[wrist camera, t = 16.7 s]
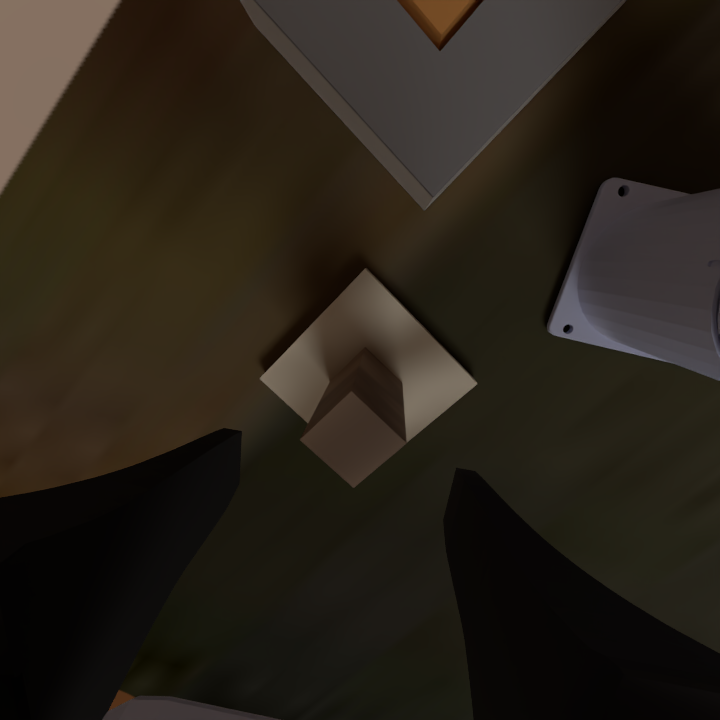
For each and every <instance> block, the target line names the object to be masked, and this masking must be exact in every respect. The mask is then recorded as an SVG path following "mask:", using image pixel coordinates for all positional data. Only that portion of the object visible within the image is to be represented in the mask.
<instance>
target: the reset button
mask: <svg viewBox="0 0 720 720" xmlns="http://www.w3.org/2000/svg"><path fill="white" fill-rule="evenodd" d="M397 1H398V2H399V3H400V5H401V6H402V7H403V8H404V9H405V11H406V12H407V13H408V14H409V15H410V16H411V18H412V19H413V20H414V21H415V22H416V24H417V25H418V26H419V27H420V28H421V30H422V31H423V32H424V33H425V34H426V35H427V37H428V38H429V39H430V40H431V41H432V43H433V44H434V45H435V46H436V47H437V49H438V50H439V51H441V50H442V49H443V48H444V46H445V45H446V44H447V43H448V42H449V41H450V39H451V38H452V37H453V36H454V35H455V34H456V32H457V31H458V30H459V29H460V28H461V26H462V25H463V24H464V23H465V22H466V21H467V19H468V18H469V17H470V16H471V15H472V14H473V12H474V11H475V10H476V9H477V8H478V6H479V5H480V4H481V3H482V2H483V1H484V0H397Z"/></svg>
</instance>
